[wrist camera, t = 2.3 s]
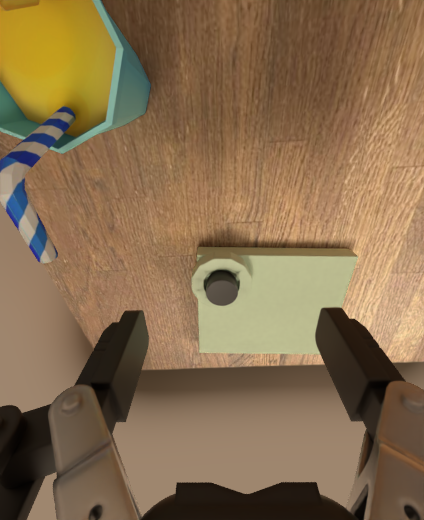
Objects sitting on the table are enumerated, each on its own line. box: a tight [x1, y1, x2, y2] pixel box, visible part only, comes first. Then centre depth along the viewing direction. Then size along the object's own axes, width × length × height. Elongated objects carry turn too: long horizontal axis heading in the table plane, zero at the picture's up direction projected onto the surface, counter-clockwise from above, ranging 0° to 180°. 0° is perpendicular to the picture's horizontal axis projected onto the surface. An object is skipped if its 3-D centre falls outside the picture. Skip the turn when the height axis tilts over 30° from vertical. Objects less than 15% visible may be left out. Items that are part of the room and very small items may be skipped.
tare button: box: [206, 271, 238, 306], centre depth 24 cm, size 3×3×2 cm
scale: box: [191, 247, 358, 354], centre depth 28 cm, size 16×14×4 cm
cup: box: [0, 0, 151, 263], centre depth 13 cm, size 14×8×15 cm, turn 2°
